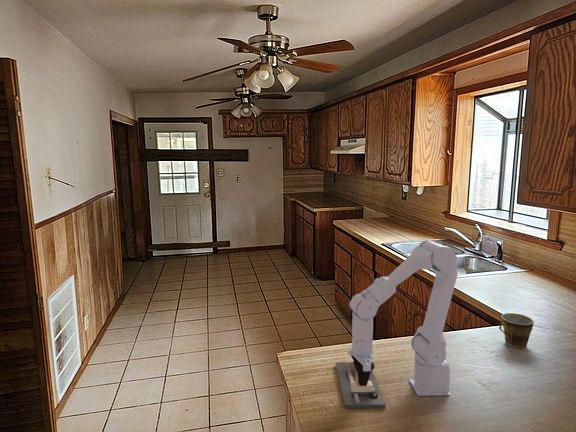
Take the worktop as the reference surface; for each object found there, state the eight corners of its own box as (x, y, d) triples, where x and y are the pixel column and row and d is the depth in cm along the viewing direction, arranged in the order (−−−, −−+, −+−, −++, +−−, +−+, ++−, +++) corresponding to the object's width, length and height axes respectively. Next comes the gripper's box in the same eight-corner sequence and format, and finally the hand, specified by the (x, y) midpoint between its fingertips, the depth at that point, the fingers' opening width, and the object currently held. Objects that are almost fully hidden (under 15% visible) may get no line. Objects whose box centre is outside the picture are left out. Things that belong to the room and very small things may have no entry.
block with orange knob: (372, 386, 113) (373, 367, 112) (375, 393, 110) (375, 373, 109) (350, 387, 113) (350, 367, 112) (352, 393, 110) (352, 373, 109)
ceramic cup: (514, 336, 146) (516, 311, 145) (538, 348, 137) (540, 322, 135) (487, 342, 142) (488, 316, 141) (510, 355, 133) (512, 327, 131)
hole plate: (368, 365, 128) (368, 353, 127) (385, 408, 106) (385, 394, 105) (335, 365, 128) (335, 354, 127) (345, 408, 106) (345, 394, 105)
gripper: (344, 325, 116) (344, 367, 118) (352, 349, 102) (351, 396, 104) (368, 325, 116) (367, 367, 118) (379, 349, 102) (378, 396, 104)
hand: (361, 381), depth 111 cm, fingers closed on block with orange knob, 3 cm apart
